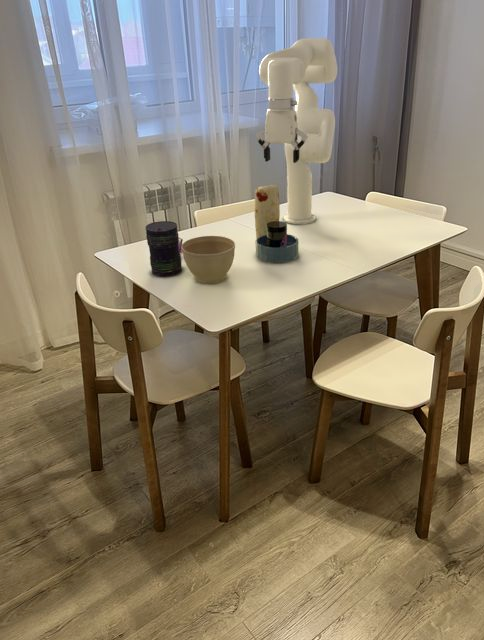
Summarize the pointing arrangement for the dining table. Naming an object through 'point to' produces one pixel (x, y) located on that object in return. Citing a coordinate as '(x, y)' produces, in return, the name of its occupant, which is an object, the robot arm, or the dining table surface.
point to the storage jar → (164, 248)
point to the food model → (266, 208)
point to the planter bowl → (209, 257)
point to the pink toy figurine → (180, 245)
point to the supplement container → (276, 234)
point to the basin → (277, 250)
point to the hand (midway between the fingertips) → (281, 161)
